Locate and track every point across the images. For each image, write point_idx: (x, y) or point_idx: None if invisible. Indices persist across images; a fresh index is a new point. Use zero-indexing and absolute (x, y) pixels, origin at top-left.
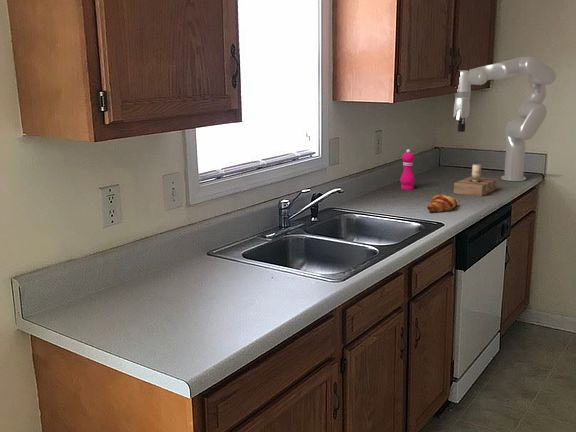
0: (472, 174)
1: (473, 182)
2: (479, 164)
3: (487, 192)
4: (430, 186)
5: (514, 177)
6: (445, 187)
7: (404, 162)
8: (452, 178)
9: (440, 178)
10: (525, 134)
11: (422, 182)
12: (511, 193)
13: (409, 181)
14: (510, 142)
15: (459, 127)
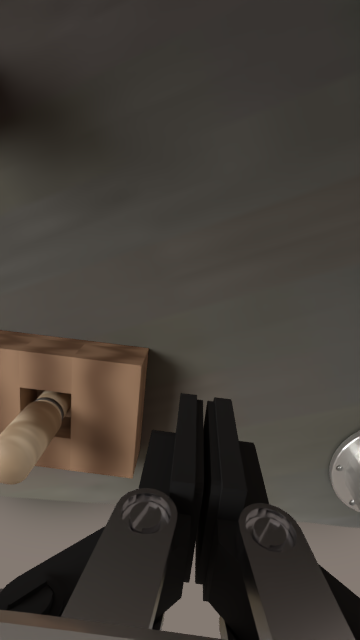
0: (14, 419)
1: (9, 411)
2: (28, 472)
3: None
4: (59, 185)
5: (347, 486)
6: (73, 260)
7: None
8: (316, 216)
9: (294, 153)
10: None
11: (139, 101)
12: (89, 502)
13: None
14: None
15: (147, 463)
